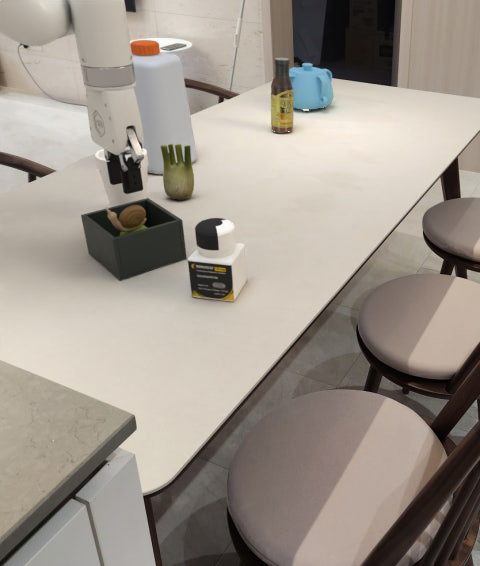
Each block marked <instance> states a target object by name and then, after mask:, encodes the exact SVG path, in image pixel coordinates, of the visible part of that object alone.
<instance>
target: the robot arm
mask: <svg viewBox="0 0 480 566" xmlns="http://www.w3.org/2000/svg"><path fill="white" fill-rule="evenodd" d="M128 23H129V22H128V15H127V7H126V3H125V0H0V34H1V35H2V36H5V37H7V38H8V39H9V40H11V41H14V42H16V43H19V44H21V45H24V46H28V47H43V46H45V45H49V44H50V43H52V42H54V41H56V40H58V39H61V38H64V37H67V36H71V35H74V36H75V42H76V48H77V53H78V59H79V63H80V64H79V65H80V70H81V76H82V81H83V87H84V89H85V99H86V110H87V117H88V125H89V132H90V137H91V140H92V142H94V143H95V144H96V145H98V146H99V147H101V149H104V155H105V159H106V161H109V162H106V163H107V168H108V174H109V180H110V184H112V185H116V184H121V183H122V186H123V192H124V193H125V194H130V193H134V192H138V191H142V190H143V183H142V176H141V169H140V168H141V161H142V160H143V159H144V154H143V152H142V149H143V147H144V138H143V130H142V124H141V118H140V113H139V108H138V104H137V100H136V95H135V92H134V88H133V87H134V86H136V80H135V73H134V65H133V59H132V51H131V38H130V29H129V24H128ZM126 147H130V150H125V148H126ZM129 154H132V155H131V157H128V159H127V161H126V157H125V155H129Z"/></svg>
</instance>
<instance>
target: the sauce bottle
mask: <svg viewBox="0 0 480 566" xmlns="http://www.w3.org/2000/svg"><path fill="white" fill-rule="evenodd" d="M290 63H291V62H290V58H288V57H275V58H274V65H275V68H274V75H275V76H274V78H273V79H272V81H271V84H270V125H271V131H272V130H273V131H275V132H274V133H276V132H288V131H291V130H292V129H293V130H294V108H293V88H292V84H291V81H290V77H289V69H290ZM293 130H292V131H293ZM273 131H272V132H273ZM292 131H291V132H292Z"/></svg>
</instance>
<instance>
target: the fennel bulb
mask: <svg viewBox="0 0 480 566" xmlns="http://www.w3.org/2000/svg"><path fill="white" fill-rule="evenodd" d="M168 148H169V153H168ZM168 148H167V145H161V151H162V156H163V163H164V171H163V174H162V180H163V182H162V183H163V189H164V193H165V195H166V196H167V197H169V198H171V199H173V200H180V201H181V200H182V201H184V200H187V199H189V198H191V197H192V196H193V192H194V188H195V175H194V169H193V162H191V149H190V145H184V160H185V162H184V160H183V154H182V147H181V144H175V150H176V156H177V163H176V159H175V154H174V149H173V144H168Z"/></svg>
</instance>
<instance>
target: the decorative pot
mask: <svg viewBox="0 0 480 566" xmlns="http://www.w3.org/2000/svg"><path fill="white" fill-rule="evenodd" d="M313 65H314V64H313V63H310V62H304V63H302V64H301V66H299V67H296V66H293V67H289V77H290V81H291V84H292V88H293V109H297V110H302V109H310V110H316V109H317V110H319V109H318V108H323V107H325V108H326V107H328V105H329V106H330V105H331V104H332V102H333V101H334V90H333V89H334V88H333V85H332V81H333V73H332V71H331V70H329V69H327V68H319V67H315V66H313Z"/></svg>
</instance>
